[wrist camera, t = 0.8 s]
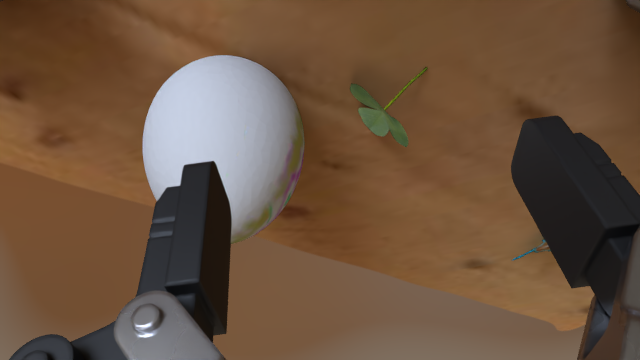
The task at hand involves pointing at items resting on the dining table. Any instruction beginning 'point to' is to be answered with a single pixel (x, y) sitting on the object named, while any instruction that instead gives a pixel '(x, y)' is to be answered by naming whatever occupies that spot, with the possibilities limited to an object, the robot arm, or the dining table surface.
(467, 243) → the dining table surface
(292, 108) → the decorative egg
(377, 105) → the seedling
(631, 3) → the owl
